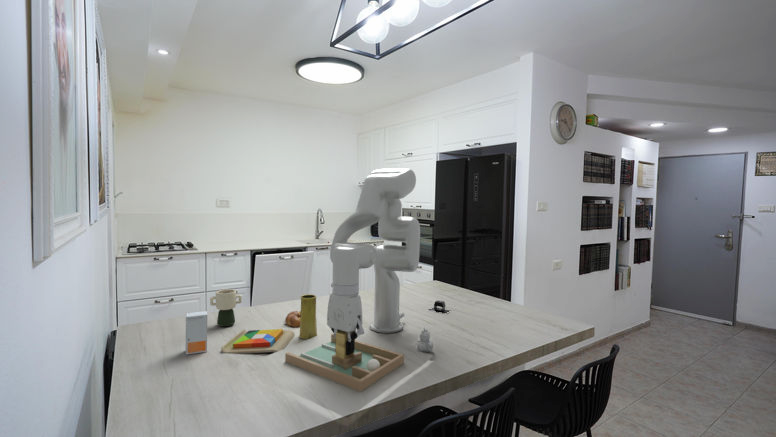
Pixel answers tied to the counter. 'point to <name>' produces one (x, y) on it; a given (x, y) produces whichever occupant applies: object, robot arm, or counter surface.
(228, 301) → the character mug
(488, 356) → the counter surface
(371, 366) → the ball
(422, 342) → the grey figurine
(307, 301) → the vase
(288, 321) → the sesame bagel
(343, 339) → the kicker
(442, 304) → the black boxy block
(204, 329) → the skincare box
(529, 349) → the counter surface
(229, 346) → the wooden puzzle
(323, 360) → the pitch
